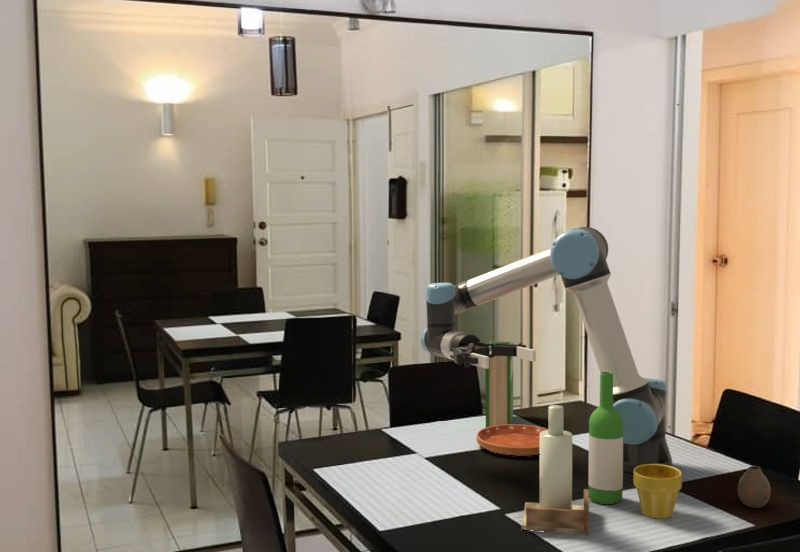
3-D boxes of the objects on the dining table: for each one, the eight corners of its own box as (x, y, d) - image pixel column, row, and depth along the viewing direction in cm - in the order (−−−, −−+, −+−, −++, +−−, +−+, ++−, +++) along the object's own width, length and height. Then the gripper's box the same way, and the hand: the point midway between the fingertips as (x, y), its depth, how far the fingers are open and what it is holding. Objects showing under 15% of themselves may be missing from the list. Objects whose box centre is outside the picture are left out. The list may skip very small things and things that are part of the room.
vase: (767, 512, 196) (768, 474, 196) (734, 507, 200) (735, 469, 199) (772, 502, 202) (773, 465, 201) (740, 497, 206) (741, 461, 205)
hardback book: (510, 431, 264) (510, 352, 261) (485, 430, 265) (485, 351, 263) (513, 416, 281) (513, 341, 279) (489, 415, 282) (489, 341, 280)
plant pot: (653, 525, 190) (654, 481, 189) (623, 509, 199) (623, 467, 198) (691, 517, 194) (692, 474, 193) (659, 502, 203) (660, 461, 202)
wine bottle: (585, 493, 210) (586, 369, 207) (618, 493, 209) (620, 369, 206) (591, 505, 202) (592, 376, 199) (625, 505, 202) (627, 376, 199)
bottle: (572, 509, 196) (572, 403, 193) (571, 521, 189) (572, 411, 187) (540, 507, 197) (540, 402, 195) (538, 519, 190) (538, 410, 188)
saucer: (571, 443, 252) (571, 430, 251) (538, 465, 233) (538, 451, 232) (498, 432, 264) (498, 420, 264) (462, 452, 245) (462, 439, 244)
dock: (588, 510, 199) (588, 489, 198) (588, 535, 185) (588, 512, 185) (525, 507, 201) (525, 486, 201) (521, 530, 188) (521, 508, 187)
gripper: (501, 355, 232) (553, 368, 214) (420, 367, 220) (467, 382, 202) (501, 327, 232) (552, 337, 213) (419, 337, 220) (466, 349, 201)
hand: (511, 359), depth 208 cm, fingers open, 13 cm apart
